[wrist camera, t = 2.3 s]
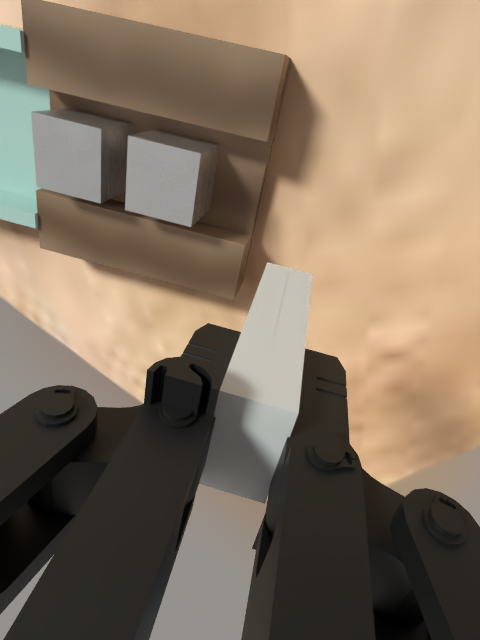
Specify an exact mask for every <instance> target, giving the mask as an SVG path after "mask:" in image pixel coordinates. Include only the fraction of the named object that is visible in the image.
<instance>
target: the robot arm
mask: <svg viewBox="0 0 480 640" xmlns="http://www.w3.org/2000/svg"><path fill="white" fill-rule="evenodd" d="M311 284H312V274H310V273H307V272H303V271H299V270H295V269H291V268H287V267H284V266H280V265H276V264H272V263H268V262H267V265H266V267H265V270H264V273H263V275H262V278H261V281H260V283H259V286H258V289H257V291H256V294H255V297H254V299H253V302H252V305H251V307H250V310H249V313H248V315H247V318H246V321H245V323H244V326H243V329H242V332H238V331H234V330H231V329H227V328H223V327H220V326H216V325H213V324H209V323H208V324H206V325H205V326H203V327H201V328H200V329H198V330H196V331H195V332H194V334H193V336H192V338H191V339H190V341H189V344H188V345H187V347H186V348H185V350H184V352H183V354H182V355H181V357H173V358H166V359H163V360H161V361H158V362H155V363H154V364H153V365H152V366H151V367H150V368H149V369H148V370H147V378H146V388H145V399H144V404H142V405H139V406H134V407H129V408H128V407H127V408H106V407H97V405H96V403H95V400H94V397H92V395H90V394H89V393H88V392H87V391H85V390H83V389H80V388H77V387H74V386H61V385H59V386H52V387H48V388H43V389H41V390H39V391H36V392H34V393H33V394H30V395H28V396H27V397H26V398H24V399H22V400H21V401H19V402H18V403H16V404H15V405H14V406H12V407H10V408H9V409H7V410H6V411H4V412H3V413H1V414H0V614H1V613H2V612H3V611H4V610H5V609H6V607H7V606H8V605H9V604H10V603H11V602H12V601H13V600H14V598H15V597H16V596H17V595H18V594H19V593H20V592H21V591H22V589H23V588H24V587H25V586H26V585H27V584H28V583H29V582H30V581H31V579H32V578H33V577H34V576H35V575H36V574H37V573H38V572H39V571H40V569H41V568H42V567H43V566H44V565H45V564H46V563H47V562H48V561H49V559H50V558H51V557H52V556H53V555H54V556H53V557H52V559H51V561H50V562H49V564H48V566H47V568H46V569H45V571H44V573H43V574H42V576H41V578H40V579H39V581H38V583H37V584H36V586H35V588H34V590H33V591H32V593H31V594H30V596H29V598H28V599H27V601H26V603H25V604H24V606H23V608H22V610H21V611H20V613H19V615H18V616H17V618H16V620H15V621H14V623H13V625H12V626H11V628H10V630H9V631H8V633H7V635H6V636H5V638H4V640H149V638H150V635H151V632H152V629H153V626H154V623H155V619H156V617H157V614H158V611H159V608H160V605H161V601H162V598H163V595H164V592H165V589H166V586H167V583H168V580H169V577H170V574H171V571H172V568H173V565H174V562H175V559H176V556H177V553H178V550H179V547H180V544H181V541H182V537H183V535H184V531H185V528H186V525H187V523H188V519H189V517H190V514H191V510H192V507H193V502H194V498H195V493H196V490H197V487H198V484H202V485H206V486H209V487H212V488H216V489H219V490H222V491H225V492H229V493H232V494H235V495H239V496H242V497H245V498H248V499H252V500H255V501H258V502H262V503H265V502H266V499H267V497H268V501H267V508H266V513H265V516H264V518H263V521H262V524H261V526H260V529H259V532H258V534H257V537H256V540H255V542H254V545H253V548H252V549H255V550H256V555H255V561H254V567H253V573H252V579H251V585H250V591H249V597H248V603H247V609H246V615H245V621H244V627H243V633H242V639H241V640H480V527H479V525H478V524H477V523H476V521H475V520H474V519H473V517H472V516H471V514H470V513H469V512H468V511H467V510H466V509H464V508H463V507H462V506H461V505H460V504H459V503H458V502H456V501H455V500H454V499H452V498H450V497H448V496H446V495H445V494H443V493H441V492H438V491H434V490H431V489H427V488H425V489H415V490H413V491H412V492H410V494H408V495H407V496H406V497H404V496H402V495H400V494H399V493H397V492H395V491H393V490H392V489H390V488H388V487H387V486H385V485H383V484H381V483H380V482H378V481H377V480H375V479H374V478H373V477H371V476H370V475H369V474H368V473H367V472H366V471H365V470H364V469H362V466H361V463H360V460H359V457H358V455H357V453H356V452H355V451H354V449H353V448H352V446H351V445H350V443H349V424H348V406H347V399H346V398H347V388H346V371H345V369H344V368H343V366H342V365H341V363H340V361H339V360H338V358H337V357H334V356H330V355H327V354H323V353H319V352H316V351H312V350H308V349H305V344H306V334H307V324H308V314H309V304H310V294H311ZM268 494H269V495H268Z"/></svg>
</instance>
